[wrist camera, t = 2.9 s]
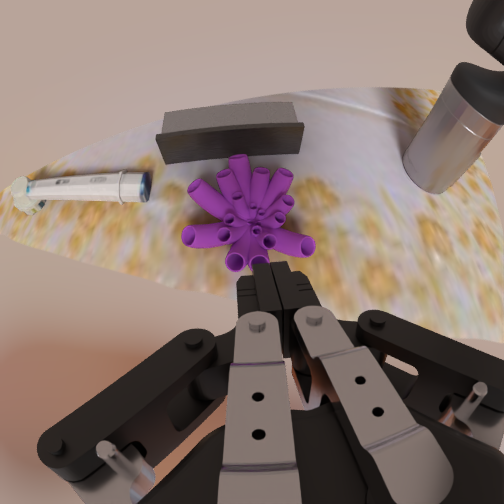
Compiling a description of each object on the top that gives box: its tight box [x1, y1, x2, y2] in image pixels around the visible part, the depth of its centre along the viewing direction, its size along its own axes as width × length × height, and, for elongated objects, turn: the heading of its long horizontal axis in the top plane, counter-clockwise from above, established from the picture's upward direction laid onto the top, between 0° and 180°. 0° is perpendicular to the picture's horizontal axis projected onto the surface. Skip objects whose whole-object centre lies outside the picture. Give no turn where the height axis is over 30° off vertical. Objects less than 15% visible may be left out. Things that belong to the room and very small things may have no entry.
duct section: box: [156, 102, 304, 164], centre depth 37 cm, size 19×6×6 cm, turn 95°
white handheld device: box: [11, 169, 151, 215], centre depth 34 cm, size 5×7×25 cm
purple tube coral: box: [182, 154, 315, 272], centre depth 31 cm, size 11×15×10 cm
